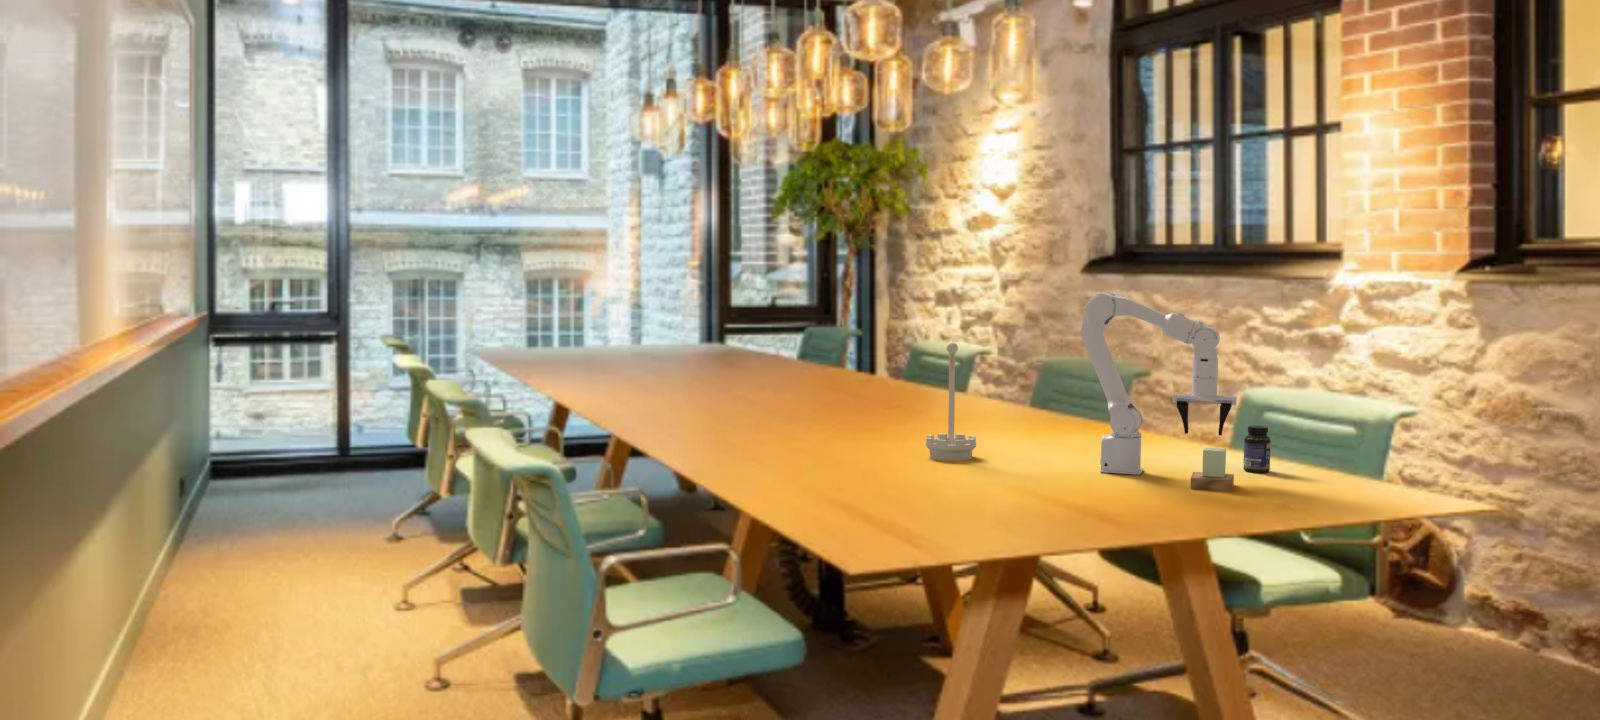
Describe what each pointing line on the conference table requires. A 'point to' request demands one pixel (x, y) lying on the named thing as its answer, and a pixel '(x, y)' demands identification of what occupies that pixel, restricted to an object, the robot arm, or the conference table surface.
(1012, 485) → the conference table surface
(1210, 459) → the sage block
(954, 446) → the flag stand
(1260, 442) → the pill bottle
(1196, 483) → the walnut box
